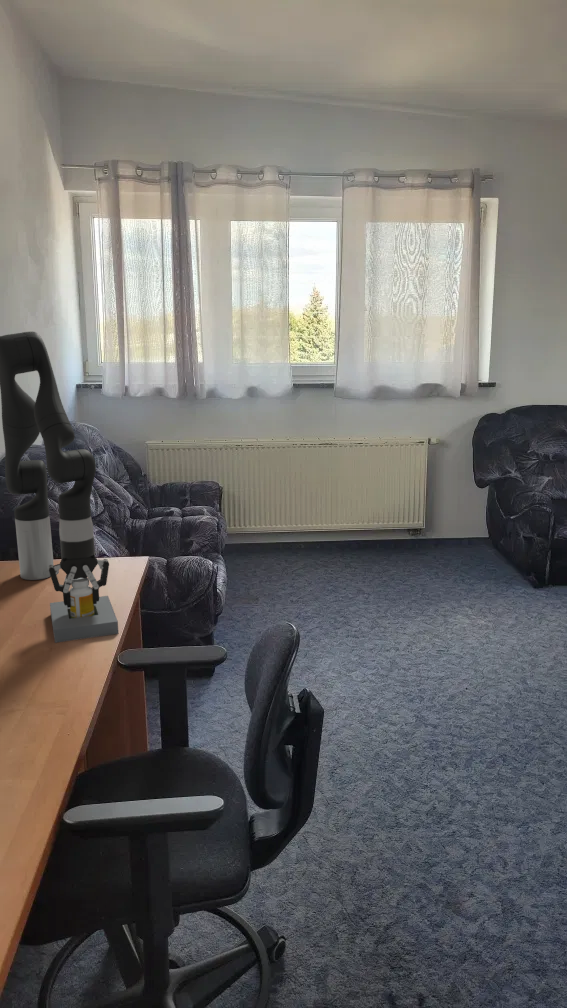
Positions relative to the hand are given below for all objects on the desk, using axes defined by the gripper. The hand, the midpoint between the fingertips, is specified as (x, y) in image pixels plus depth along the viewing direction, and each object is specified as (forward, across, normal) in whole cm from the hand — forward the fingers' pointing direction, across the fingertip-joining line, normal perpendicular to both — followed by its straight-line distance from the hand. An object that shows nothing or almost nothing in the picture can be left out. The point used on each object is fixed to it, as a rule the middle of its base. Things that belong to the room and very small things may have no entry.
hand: (81, 604), depth 171 cm
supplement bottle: (+4, 0, 0) cm, 4 cm away
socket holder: (+5, 0, 0) cm, 5 cm away
